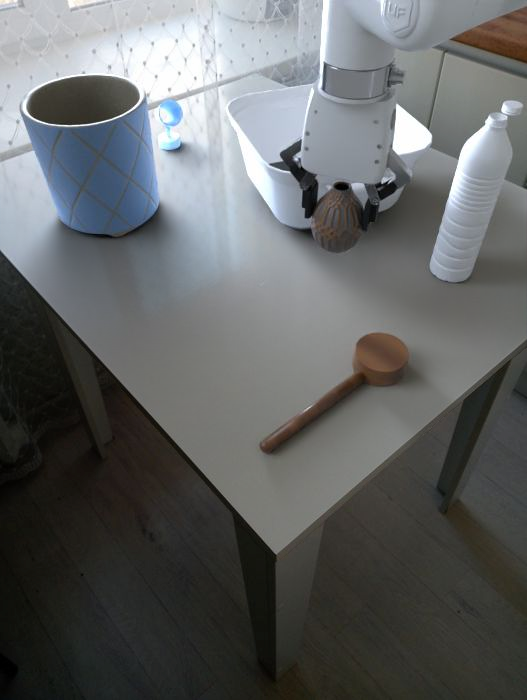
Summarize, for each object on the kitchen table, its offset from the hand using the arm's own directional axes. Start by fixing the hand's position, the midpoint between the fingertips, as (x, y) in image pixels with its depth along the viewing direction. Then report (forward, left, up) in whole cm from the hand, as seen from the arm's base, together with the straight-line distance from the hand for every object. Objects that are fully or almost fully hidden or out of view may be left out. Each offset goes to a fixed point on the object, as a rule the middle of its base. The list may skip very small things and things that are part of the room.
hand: (338, 218), depth 71 cm
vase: (0, 0, -4) cm, 4 cm away
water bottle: (-16, -16, -16) cm, 28 cm away
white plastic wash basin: (+10, -27, -16) cm, 33 cm away
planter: (+44, -10, -16) cm, 48 cm away
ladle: (-6, +16, -15) cm, 23 cm away
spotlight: (+45, -35, -16) cm, 59 cm away
